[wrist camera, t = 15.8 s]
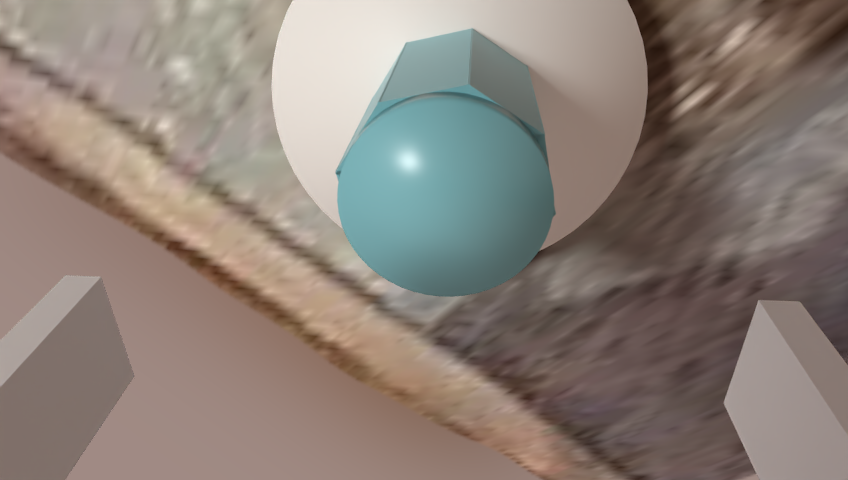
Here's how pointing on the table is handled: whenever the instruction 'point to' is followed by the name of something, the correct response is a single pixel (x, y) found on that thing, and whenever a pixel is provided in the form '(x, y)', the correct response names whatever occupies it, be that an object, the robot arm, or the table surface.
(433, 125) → the teal cap
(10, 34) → the table surface
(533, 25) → the post base
